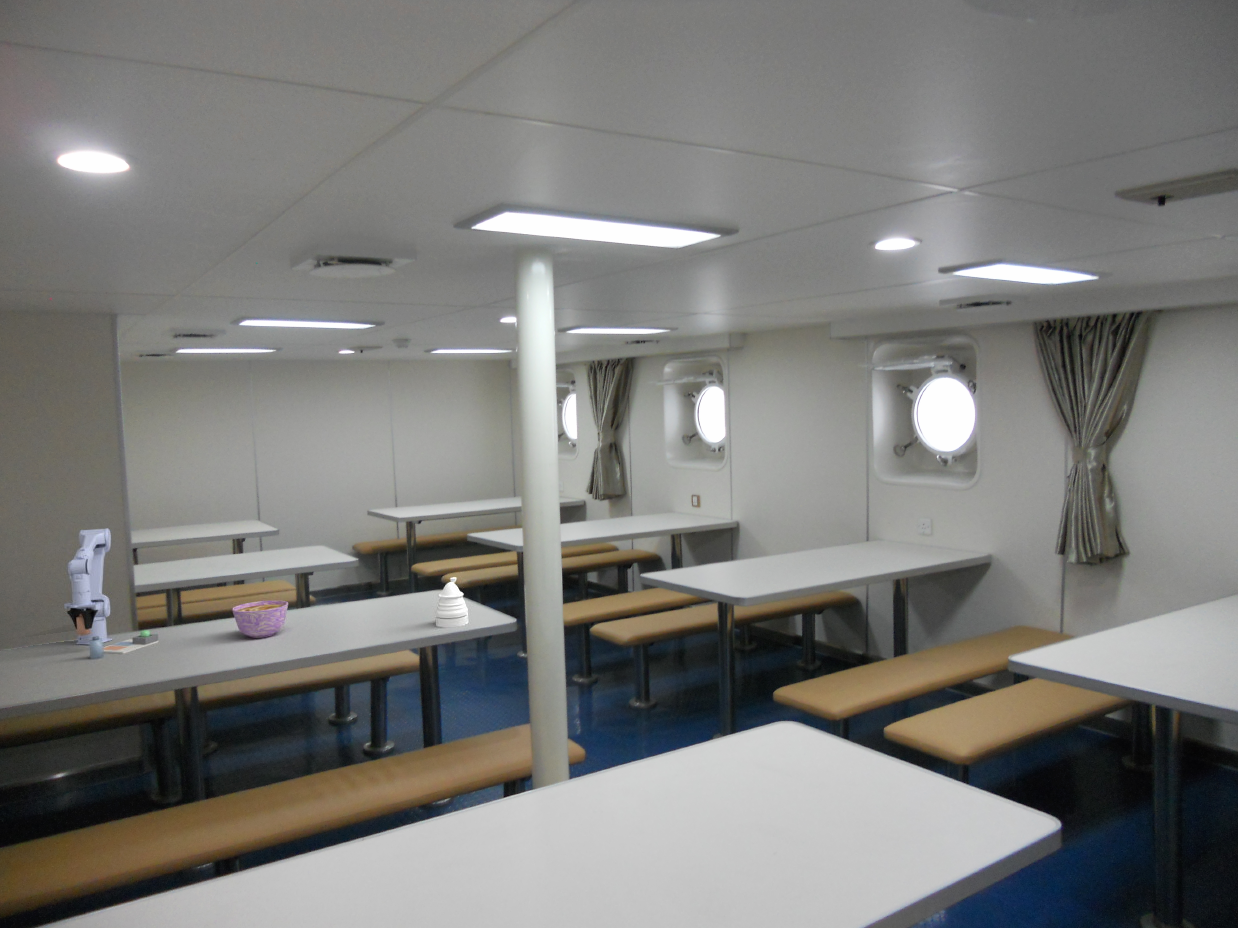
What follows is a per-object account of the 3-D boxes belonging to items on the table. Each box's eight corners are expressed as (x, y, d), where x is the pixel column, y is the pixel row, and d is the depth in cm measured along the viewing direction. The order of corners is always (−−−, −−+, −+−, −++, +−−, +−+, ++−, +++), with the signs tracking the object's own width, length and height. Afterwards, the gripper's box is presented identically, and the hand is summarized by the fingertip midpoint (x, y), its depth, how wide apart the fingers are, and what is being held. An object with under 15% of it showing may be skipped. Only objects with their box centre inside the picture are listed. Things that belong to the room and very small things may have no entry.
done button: (139, 639, 313) (138, 631, 313) (145, 637, 316) (145, 629, 316) (145, 639, 312) (145, 631, 312) (151, 637, 315) (151, 629, 315)
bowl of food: (291, 626, 334) (290, 598, 334) (287, 638, 315) (286, 608, 315) (237, 632, 328) (235, 603, 328) (230, 644, 309) (228, 613, 309)
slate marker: (87, 658, 295) (86, 638, 295) (97, 655, 299) (96, 635, 299) (96, 659, 294) (95, 638, 294) (106, 656, 298) (104, 635, 298)
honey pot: (449, 618, 340) (447, 575, 339) (475, 621, 334) (473, 576, 333) (429, 625, 328) (426, 580, 327) (455, 628, 322) (453, 582, 321)
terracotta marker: (74, 635, 303) (73, 614, 302) (84, 632, 306) (83, 612, 306) (83, 635, 302) (82, 615, 301) (93, 632, 305) (91, 612, 305)
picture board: (92, 651, 305) (92, 643, 305) (129, 640, 320) (128, 632, 320) (123, 653, 301) (122, 645, 301) (158, 642, 316) (158, 634, 316)
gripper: (55, 593, 301) (58, 630, 302) (87, 594, 298) (89, 631, 298) (73, 589, 308) (75, 625, 309) (104, 590, 304) (106, 627, 305)
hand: (83, 628), depth 304 cm, fingers closed on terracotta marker, 4 cm apart
